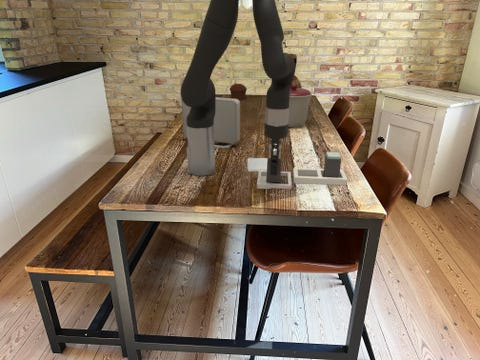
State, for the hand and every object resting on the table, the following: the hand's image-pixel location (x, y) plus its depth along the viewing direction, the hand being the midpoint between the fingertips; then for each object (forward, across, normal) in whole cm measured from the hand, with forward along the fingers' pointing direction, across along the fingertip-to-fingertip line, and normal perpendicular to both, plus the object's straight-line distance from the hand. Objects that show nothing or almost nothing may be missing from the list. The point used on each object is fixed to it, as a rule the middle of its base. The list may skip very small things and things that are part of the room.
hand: (273, 171), depth 117 cm
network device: (+5, -39, -28) cm, 48 cm away
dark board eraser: (+3, -3, +19) cm, 20 cm away
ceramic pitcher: (+5, -123, +6) cm, 123 cm away
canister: (+5, -71, +8) cm, 72 cm away
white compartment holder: (+4, -3, +15) cm, 16 cm away
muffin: (+5, -130, -26) cm, 133 cm away
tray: (+4, 0, 0) cm, 4 cm away
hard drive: (+5, -14, -6) cm, 16 cm away
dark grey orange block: (+3, 0, 0) cm, 3 cm away
